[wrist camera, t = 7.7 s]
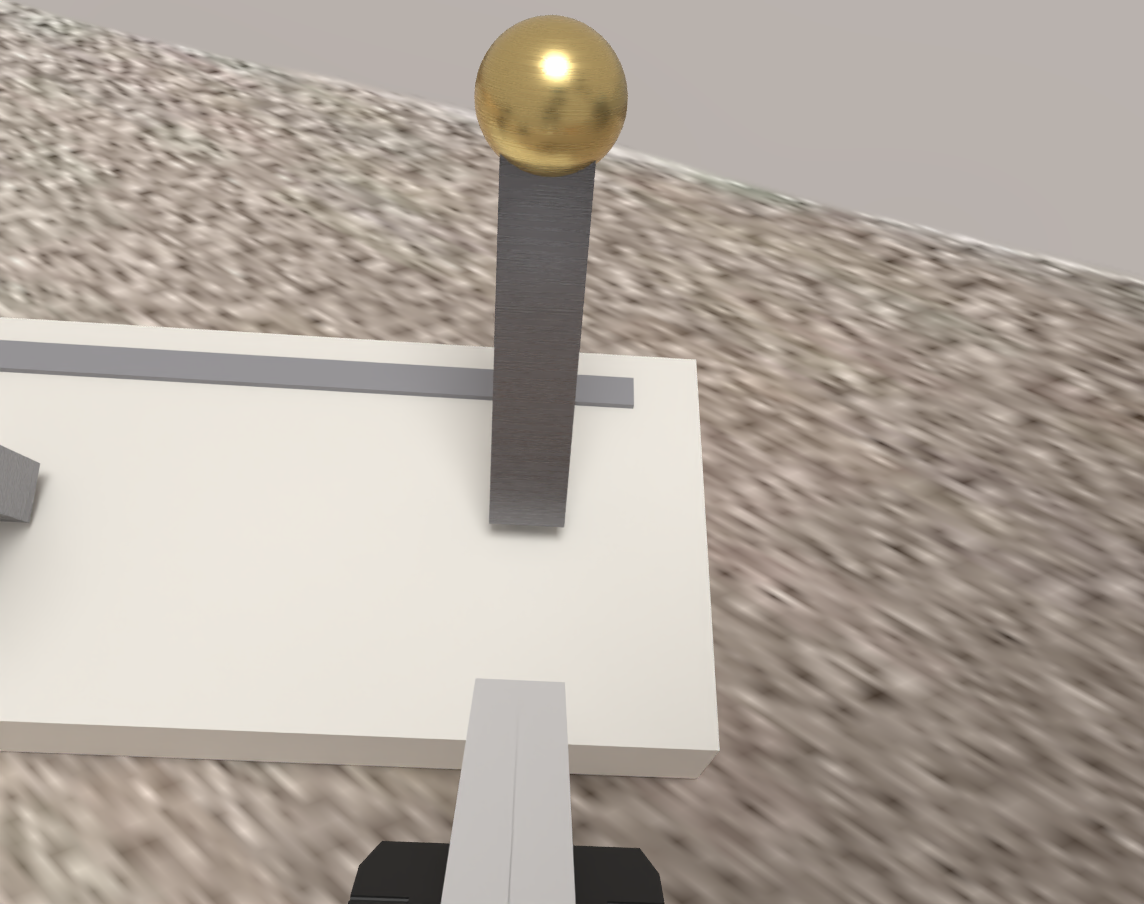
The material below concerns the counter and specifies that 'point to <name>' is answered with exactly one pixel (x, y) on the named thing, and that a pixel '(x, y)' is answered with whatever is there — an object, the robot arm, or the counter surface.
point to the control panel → (340, 553)
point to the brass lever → (542, 245)
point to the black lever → (16, 485)
